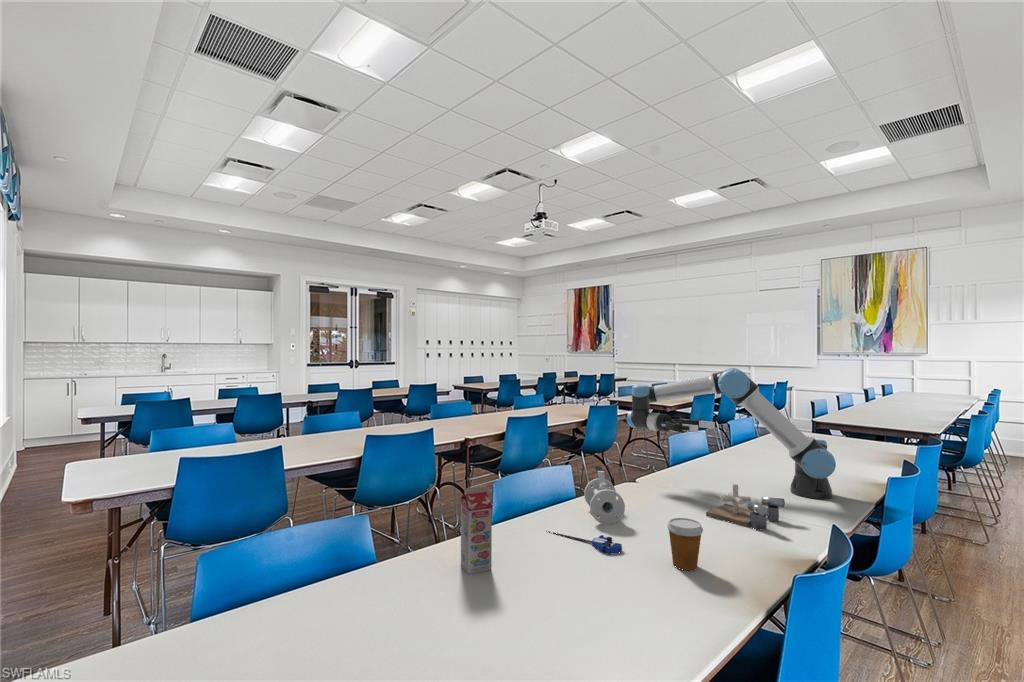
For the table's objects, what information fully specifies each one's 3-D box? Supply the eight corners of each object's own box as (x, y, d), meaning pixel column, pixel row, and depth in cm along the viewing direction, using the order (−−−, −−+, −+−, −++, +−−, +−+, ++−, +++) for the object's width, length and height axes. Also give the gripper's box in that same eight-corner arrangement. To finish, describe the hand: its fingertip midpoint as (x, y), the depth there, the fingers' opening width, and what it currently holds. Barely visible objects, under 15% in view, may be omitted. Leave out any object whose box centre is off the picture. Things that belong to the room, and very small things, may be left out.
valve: (625, 525, 171) (625, 481, 171) (590, 524, 171) (590, 481, 171) (612, 505, 193) (612, 466, 193) (582, 505, 193) (582, 466, 193)
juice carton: (460, 564, 139) (461, 485, 139) (483, 560, 141) (483, 483, 142) (468, 574, 133) (468, 491, 133) (491, 570, 135) (491, 489, 136)
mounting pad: (725, 507, 190) (725, 503, 190) (766, 517, 179) (766, 513, 179) (706, 515, 180) (705, 511, 180) (747, 527, 169) (747, 522, 169)
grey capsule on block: (762, 521, 175) (762, 498, 175) (761, 517, 179) (761, 495, 179) (785, 523, 173) (785, 500, 173) (783, 519, 176) (782, 497, 177)
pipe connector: (744, 508, 184) (743, 481, 185) (755, 517, 174) (755, 488, 175) (716, 508, 185) (716, 481, 185) (726, 516, 175) (726, 488, 175)
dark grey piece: (746, 525, 171) (746, 501, 171) (756, 524, 172) (756, 501, 172) (760, 532, 164) (759, 508, 164) (770, 531, 165) (770, 507, 165)
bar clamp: (629, 538, 153) (615, 548, 145) (629, 546, 153) (615, 557, 145) (542, 520, 172) (525, 528, 164) (542, 527, 172) (525, 536, 164)
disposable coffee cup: (685, 576, 132) (685, 531, 132) (659, 562, 140) (659, 520, 140) (710, 569, 136) (710, 525, 136) (684, 556, 145) (684, 515, 145)
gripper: (675, 427, 225) (721, 433, 209) (643, 434, 208) (690, 440, 192) (675, 411, 225) (720, 415, 209) (643, 416, 208) (690, 420, 192)
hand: (706, 427), depth 201 cm, fingers open, 13 cm apart
